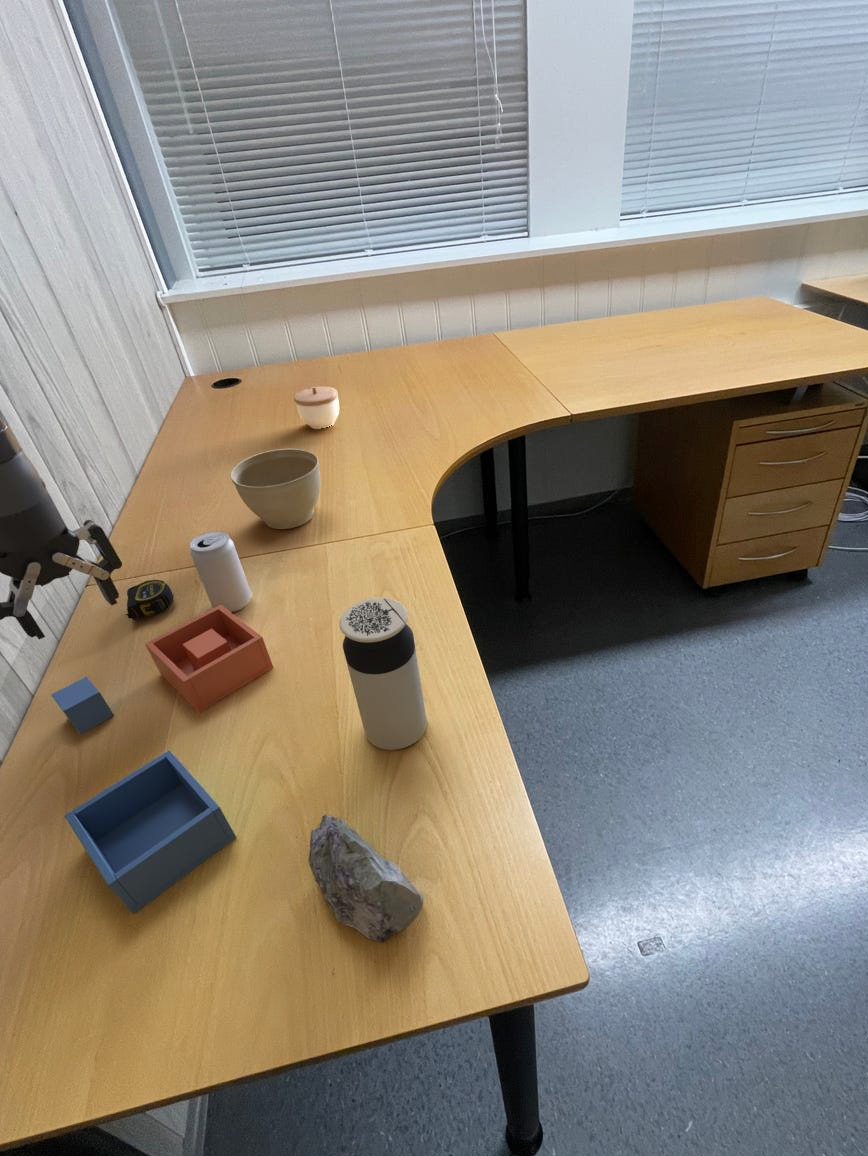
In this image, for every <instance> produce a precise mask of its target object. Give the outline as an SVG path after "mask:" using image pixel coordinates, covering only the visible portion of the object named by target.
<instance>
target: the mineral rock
mask: <svg viewBox="0 0 868 1156" xmlns="http://www.w3.org/2000/svg"><path fill="white" fill-rule="evenodd" d="M309 848H310V849H309V855H308V866H309V867H310V870H311V873H312V875H313V877H314V882H315V883H316V884H317V885H319V887H320V894H322V895H323V896H325V898H324V900H325V902H326V903H327V905H328V908H329V910H331V911H333V913H334V916H335V919H336V921H337V922H338V923H340V925H344V926H348V927H351V928H354V929H355V930H357V931H358V932H359V933H360V934H362V935H363V936H364V937H366V938H367V939H370V940H373V941H376V942H378V943H384V942H385V941H387V940H388V939H389V938H390V937H391V936H393V935H395V934H397V933H400V932H401V931H403V930H405V929H407V928H408V927H409V926H410V925H411V924H412V923H413V922H414V921H415V920H416V918H417V917H418V916H419V915H420V913H421V911H422V909H423V906H424V896H423V894H422V893H421V892H420V891H419V890H418V889H417V888H416V886H414V885H413V883H411V881H410V880H409V878H408V877H407V875H406V874H405V873H403V871H402V870H401V868H400V867H399V865H397V863H395V862H392V861H391V860H389V859H388V858H387V859H386V858H385V857H383V856H381V855H380V854H378V853H377V852H376V851H375V849H374V847H372V846H371V844H369V842H367V841H366V840H364V839H363V838H362V837H361V835H360V834H359V833H358V832H357V831H356V829H355V828H354V829H353V828H351V827H350V826H349V825H348V823H347V822H346V821H345V820H344V819H341V818H336V817H334V816H331V815H328V814H323V815H322V816H321V820H320V823H319V826H317V827H316V828H315V829H312V830H311V832H310V840H309Z"/></svg>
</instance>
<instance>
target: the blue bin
mask: <svg viewBox="0 0 868 1156" xmlns="http://www.w3.org/2000/svg"><path fill="white" fill-rule="evenodd" d="M63 817H64V818H65V819H66V821H67V823H68V825H69V826H70V828H71V829H72V830H73V832H74V834H75V835H76V837H77V839H78V840H79V842H80V844H81V845H82V847H83V848H84V849H85V851H86V853H87V854H88V856H89V858H90V859H91V861H92V862H93V864H94V865H95V867H96V869H97V871H98V872H99V874H100V875H101V877H102V879H103V881H104V882H105V883H106V885H107V887H109V889H110V890H111V891H112V892H113V893H114V894H115V895H116V896H117V898H118V899H119V900H120V901H121V902H122V904H124V906H125V907H126V908H127V909H128V910H129V911H130V913H131V914H132V915H134V914H136V913H138V912H139V911H140V910H141V909H143V908H145V907H146V906H147V905H148V904H149V903H151V902H152V901H153V900H155V899H156V898H157V897H159V896H161V895H162V894H163V893H164V892H166V891H167V890H168V889H169V888H171V887H173V885H175V884H176V883H177V882H179V881H180V880H182V879H183V878H185V876H187V875H188V874H189V873H191V872H192V871H193V870H195V869H196V868H198V867H199V866H200V865H202V864H203V863H204V862H206V861H207V860H208V859H210V858H211V857H212V856H214V855H215V854H216V853H218V852H219V851H221V850H222V849H223V848H224V847H226V846H227V845H228V844H230V843H231V842H233V841H234V840H235V839H237V836H236V834H235V832H234V830H233V828H232V826H231V825H230V823H229V821H228V819H227V817H226V816H225V814H224V812H223V810H222V809H221V807H220V805H219V804H218V803H217V802H216V801H215V800H214V798H213V797H212V796H211V795H210V794H209V793H208V791H206V790H205V788H204V787H203V786H202V785H201V784H200V782H198V780H197V779H196V778H195V777H194V776H193V775H192V774H191V772H190V771H189V770H188V768H186V767H185V766H184V764H183V763H182V762H181V761H180V760H179V759H178V757H177V756H176V755H175V754H174V752H172V751H171V749H168V750H166V751H165V752H163V753H162V754H160V755H159V756H157V757H155V758H154V759H152V760H151V761H148V762H147V763H146V764H144V765H142V766H141V767H138V768H137V769H136V770H134V771H133V772H131V773H129V774H128V775H126V776H125V777H123V778H121V779H120V780H118V781H117V782H115V783H113V784H111V785H110V786H108V787H107V788H106V789H104V790H102V791H100V792H99V793H97V794H96V795H94V796H93V797H91V798H90V799H88V800H86V801H84V802H83V803H81V804H80V805H78V806H76V807H75V808H73V809H72V810H70V811H69V812H67V813H65V814H64V815H63Z"/></svg>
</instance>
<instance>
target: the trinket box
mask: <svg viewBox="0 0 868 1156" xmlns="http://www.w3.org/2000/svg"><path fill="white" fill-rule="evenodd" d="M293 400H294V403H295V406H296V410H297V412H298V414H299V416H300V419H301V420H302V421H303V422H304V423H305V424H306V425H308V426H309V427H310V428H311V429H313V430H322V429H321V428H324V429H328V428H331V427H333V426H334V425H335V422H336V421H337V419H338V416H339V414H340V401H339V394H338V391H337V389H335V388H333V387H331V386H312V387H309V388H305V389H302V390H300V391H298V392H296V393H295V394H294V396H293ZM331 425H332V426H331ZM329 426H330V427H329ZM326 427H328V428H326ZM324 429H323V430H324Z"/></svg>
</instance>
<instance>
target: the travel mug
mask: <svg viewBox="0 0 868 1156" xmlns="http://www.w3.org/2000/svg"><path fill="white" fill-rule="evenodd" d="M408 620H409V613H408V610H407V608H406V606H404V605H403V604H402V603H401V602H400V601H397V600H395V599H392V598H387V597H372V598H367V599H362V600H360V601H357V602H356V603H354V604H352V605H350V606H348V608H347V609H346V610H345V611H344V612H343V613H342V615H341V616H340V619H339V630H340V631H341V633H342V634H343V635H344V639H343V641H342V650H343V653H344V658H345V661H346V665H347V669H348V673H349V676H350V677H349V678H350V681H351V685H352V688H353V689H352V690H353V692H354V696H355V700H356V704H357V708H358V711H359V716H360V719H361V723H362V727H363V731H364V735H365V738H366V739H367V740H368V742H369V743H370V744H371V745H373V746H374V747H377V748H379V749H383V750H387V751H394V750H395V751H397V750H401V749H404V748H407V747H409V746H412V745H413V744H415V743H417V742H418V741H419V740H420V739H421V738H422V737H423V736H424V734H425V732H426V730H427V726H428V719H427V712H426V707H425V701H424V700H425V699H424V694H423V693H424V692H423V688H422V682H421V674H420V668H419V662H418V656H417V655H418V654H417V648H416V642H415V636H414V632H413V630H412V628H411V626H410V625H408V624H407V623H408Z"/></svg>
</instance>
